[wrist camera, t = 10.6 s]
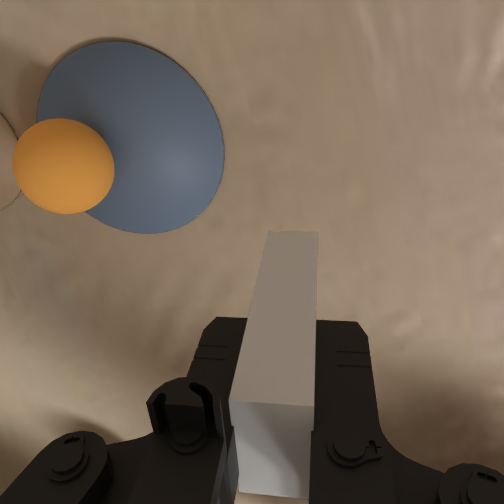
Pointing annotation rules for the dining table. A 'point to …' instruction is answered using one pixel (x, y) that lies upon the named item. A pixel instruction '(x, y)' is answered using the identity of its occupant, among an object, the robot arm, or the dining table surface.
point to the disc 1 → (7, 164)
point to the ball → (63, 166)
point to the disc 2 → (141, 132)
